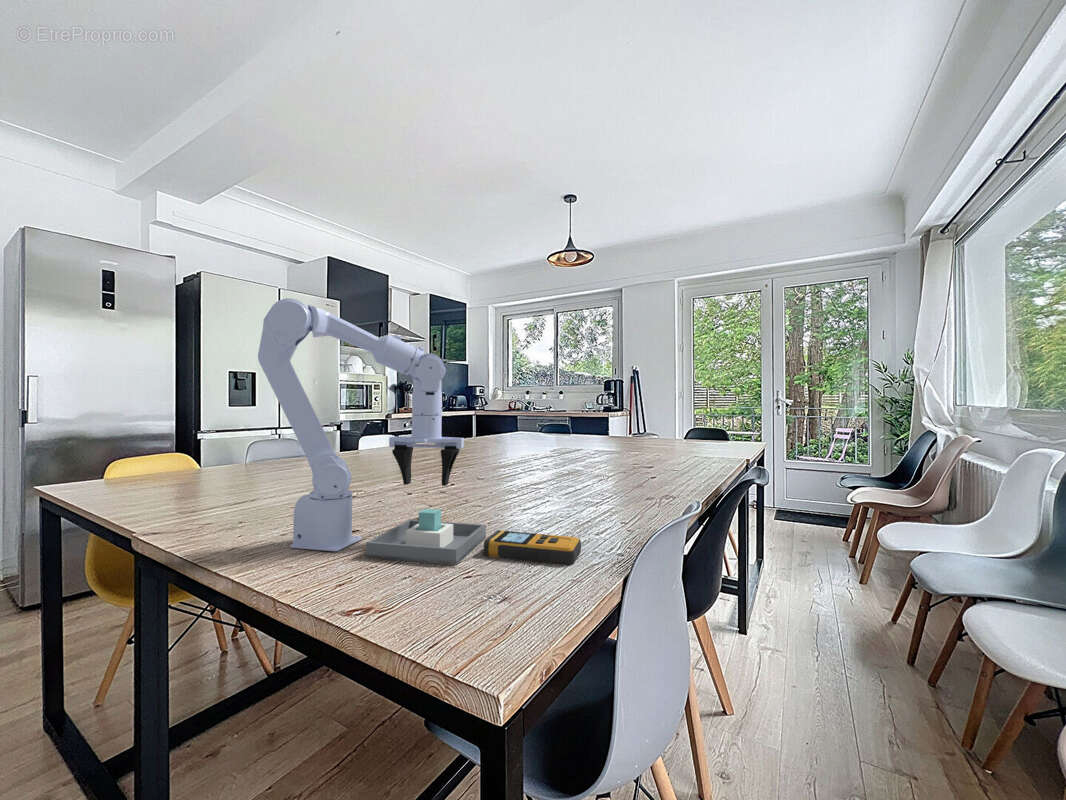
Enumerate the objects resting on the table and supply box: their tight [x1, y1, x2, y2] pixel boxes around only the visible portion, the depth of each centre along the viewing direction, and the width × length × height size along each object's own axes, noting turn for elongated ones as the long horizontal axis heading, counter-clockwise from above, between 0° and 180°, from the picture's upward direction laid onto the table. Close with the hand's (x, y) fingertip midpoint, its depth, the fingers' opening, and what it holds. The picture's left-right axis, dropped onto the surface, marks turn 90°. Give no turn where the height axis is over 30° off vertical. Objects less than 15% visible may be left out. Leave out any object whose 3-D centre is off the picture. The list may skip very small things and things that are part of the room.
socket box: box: [365, 519, 487, 566], centre depth 88 cm, size 16×16×4 cm
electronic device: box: [483, 529, 582, 566], centre depth 85 cm, size 8×16×3 cm, turn 74°
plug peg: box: [418, 508, 442, 532], centre depth 88 cm, size 3×3×6 cm
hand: (426, 484), depth 95 cm, fingers open, 7 cm apart
